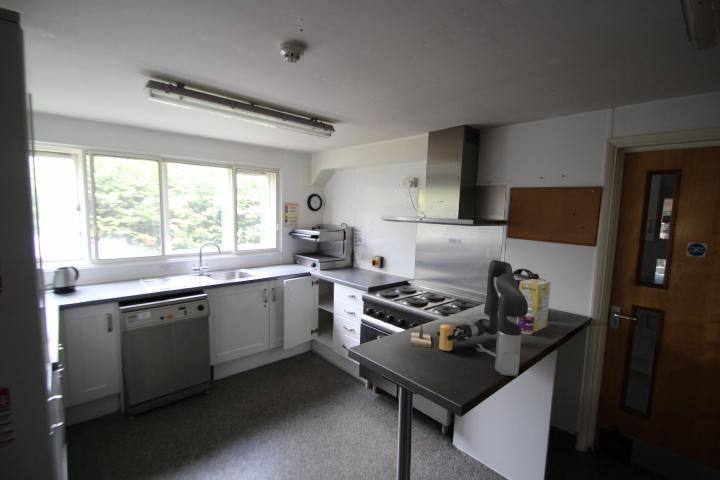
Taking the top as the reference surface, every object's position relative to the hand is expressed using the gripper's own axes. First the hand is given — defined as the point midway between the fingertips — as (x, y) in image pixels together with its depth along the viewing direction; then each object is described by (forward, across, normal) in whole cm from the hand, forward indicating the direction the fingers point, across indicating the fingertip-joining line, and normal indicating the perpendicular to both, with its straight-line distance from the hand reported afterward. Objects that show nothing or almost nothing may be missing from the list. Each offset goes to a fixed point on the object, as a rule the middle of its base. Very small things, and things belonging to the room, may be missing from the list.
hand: (442, 336), depth 153 cm
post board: (+2, -14, +7) cm, 16 cm away
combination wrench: (-17, +16, +8) cm, 25 cm away
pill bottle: (-63, +2, +7) cm, 64 cm away
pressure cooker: (-96, -22, +7) cm, 99 cm away
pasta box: (-78, -2, +7) cm, 78 cm away
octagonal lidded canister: (-2, 0, +6) cm, 7 cm away
